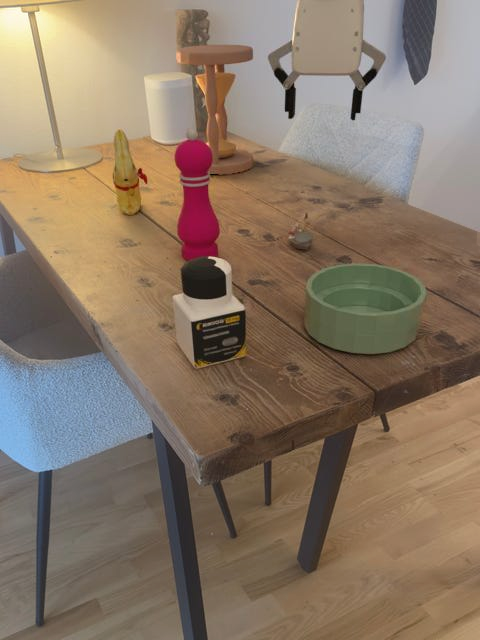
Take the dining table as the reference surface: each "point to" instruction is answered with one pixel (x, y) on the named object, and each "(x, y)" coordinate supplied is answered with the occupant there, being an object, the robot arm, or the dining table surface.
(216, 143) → the hourglass
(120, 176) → the chocolate bunny
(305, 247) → the figurine
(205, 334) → the medicine bottle
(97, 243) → the dining table surface
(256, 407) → the dining table surface
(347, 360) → the dining table surface
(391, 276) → the bowl
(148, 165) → the dining table surface
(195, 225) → the pepper mill
